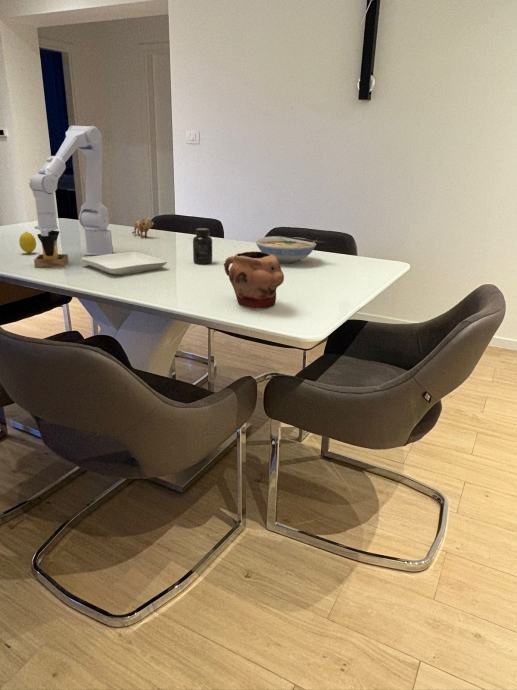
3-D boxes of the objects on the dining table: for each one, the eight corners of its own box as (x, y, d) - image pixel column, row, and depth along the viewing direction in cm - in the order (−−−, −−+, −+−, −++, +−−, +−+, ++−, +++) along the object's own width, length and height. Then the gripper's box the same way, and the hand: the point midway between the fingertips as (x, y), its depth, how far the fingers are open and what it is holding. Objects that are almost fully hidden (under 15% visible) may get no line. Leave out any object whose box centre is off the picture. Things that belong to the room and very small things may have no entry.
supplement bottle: (215, 262, 186) (216, 228, 182) (206, 265, 180) (206, 231, 176) (199, 260, 188) (199, 226, 184) (189, 263, 183) (189, 229, 178)
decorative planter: (208, 302, 139) (208, 250, 134) (235, 293, 148) (236, 244, 143) (269, 317, 129) (272, 262, 123) (294, 306, 138) (297, 255, 133)
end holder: (68, 261, 178) (67, 254, 178) (64, 267, 170) (63, 259, 169) (40, 261, 177) (39, 254, 176) (34, 267, 168) (33, 259, 167)
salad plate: (134, 259, 187) (134, 250, 185) (169, 270, 173) (168, 260, 172) (79, 267, 173) (79, 257, 171) (112, 279, 159) (111, 268, 157)
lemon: (26, 255, 184) (23, 233, 181) (17, 253, 187) (14, 231, 184) (40, 253, 188) (37, 231, 185) (32, 251, 191) (29, 229, 188)
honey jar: (46, 257, 174) (43, 239, 172) (58, 257, 175) (56, 239, 173) (43, 260, 170) (41, 242, 168) (56, 260, 171) (54, 242, 169)
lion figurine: (155, 238, 227) (155, 217, 224) (145, 239, 223) (144, 218, 220) (136, 234, 236) (135, 214, 233) (126, 235, 233) (125, 214, 229)
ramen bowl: (239, 259, 192) (240, 237, 189) (279, 252, 208) (280, 232, 205) (291, 271, 176) (292, 248, 174) (330, 263, 192) (332, 241, 189)
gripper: (37, 209, 173) (42, 250, 178) (28, 215, 160) (33, 258, 165) (59, 210, 174) (63, 250, 179) (52, 215, 161) (57, 258, 166)
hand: (50, 254), depth 172 cm, fingers closed on honey jar, 4 cm apart
